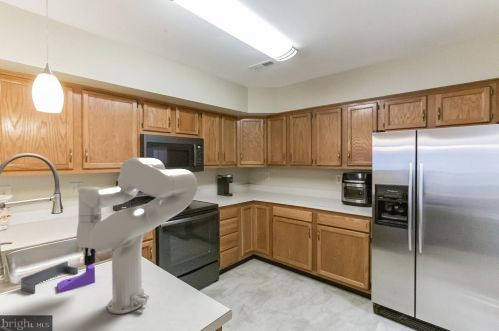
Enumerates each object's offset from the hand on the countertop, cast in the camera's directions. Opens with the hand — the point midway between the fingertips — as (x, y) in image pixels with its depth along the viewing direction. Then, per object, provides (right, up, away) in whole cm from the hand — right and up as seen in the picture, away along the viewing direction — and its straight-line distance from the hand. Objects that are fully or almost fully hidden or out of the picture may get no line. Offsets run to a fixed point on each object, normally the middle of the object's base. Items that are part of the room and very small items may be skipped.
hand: (89, 264), depth 95 cm
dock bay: (-21, -11, +7) cm, 24 cm away
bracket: (-9, -11, +5) cm, 15 cm away
